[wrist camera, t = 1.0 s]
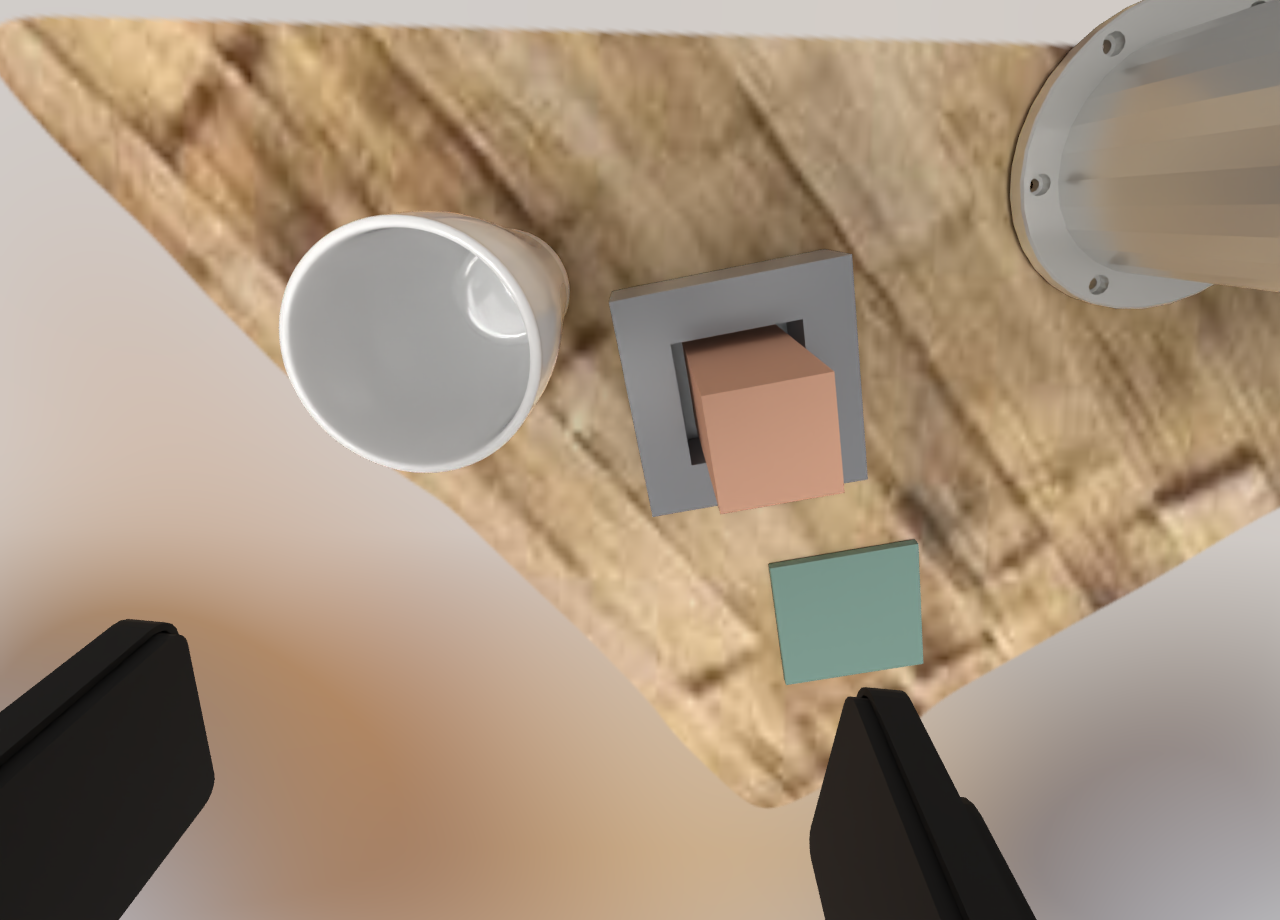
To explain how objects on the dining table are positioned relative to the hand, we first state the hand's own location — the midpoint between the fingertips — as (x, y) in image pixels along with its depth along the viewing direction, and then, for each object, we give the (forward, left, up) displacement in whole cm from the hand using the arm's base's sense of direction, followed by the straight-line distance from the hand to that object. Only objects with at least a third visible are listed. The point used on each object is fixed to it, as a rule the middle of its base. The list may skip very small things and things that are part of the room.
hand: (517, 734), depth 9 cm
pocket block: (-6, +2, -24) cm, 25 cm away
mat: (-11, +17, -24) cm, 31 cm away
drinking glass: (+3, -4, -24) cm, 25 cm away
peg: (-6, +2, -23) cm, 24 cm away
